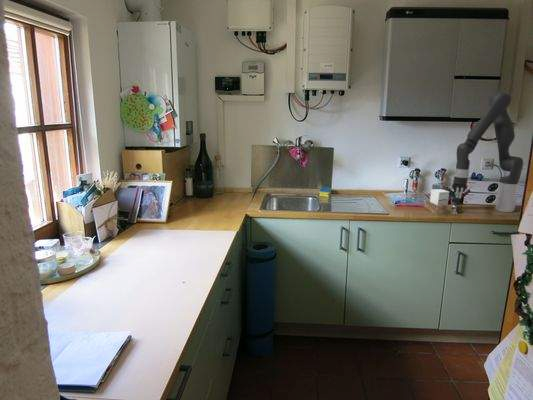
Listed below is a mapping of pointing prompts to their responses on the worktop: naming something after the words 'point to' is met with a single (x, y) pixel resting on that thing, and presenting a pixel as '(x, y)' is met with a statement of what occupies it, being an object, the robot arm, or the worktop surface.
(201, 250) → the worktop surface
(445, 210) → the keeper
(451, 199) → the latch bar
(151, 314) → the worktop surface
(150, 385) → the worktop surface
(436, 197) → the supplement box
